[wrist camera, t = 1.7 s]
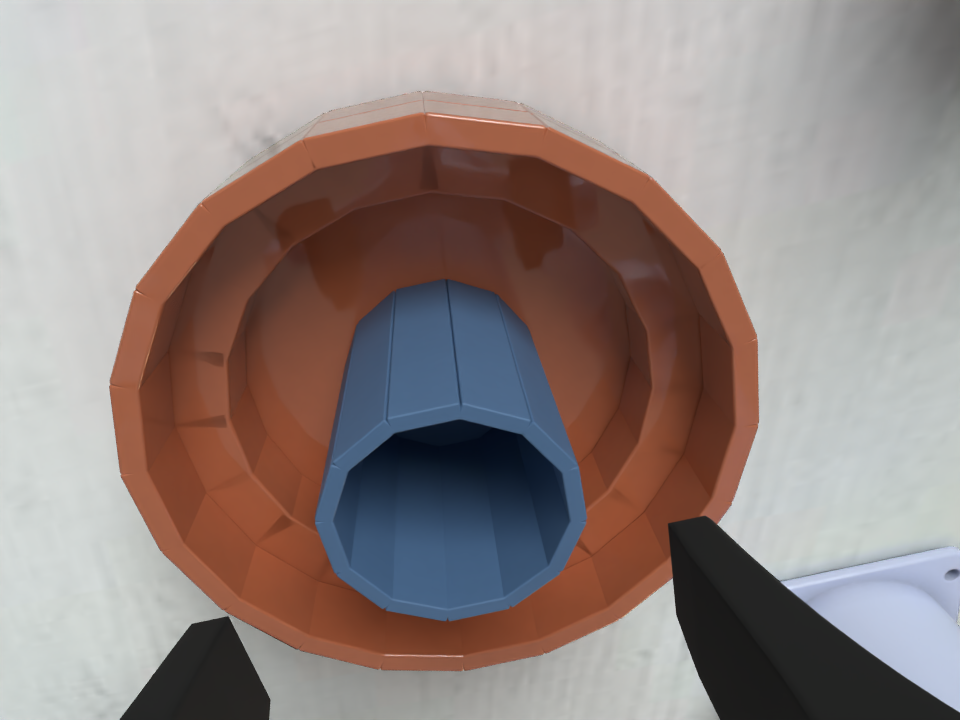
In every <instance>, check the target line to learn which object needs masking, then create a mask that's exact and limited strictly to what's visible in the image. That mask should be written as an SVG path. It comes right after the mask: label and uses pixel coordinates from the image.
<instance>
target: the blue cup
mask: <svg viewBox="0 0 960 720" xmlns="http://www.w3.org/2000/svg"><path fill="white" fill-rule="evenodd" d="M586 520H587V514H586V507H585V501H584V495H583V489H582V483H581V477H580V470H579V466H578V463H577V460H576V458H575V455H574V452H573V449H572V447H571V444H570V441H569V438H568V436H567V433H566V430H565V427H564V425H563V422H562V419H561V416H560V414H559V411H558V408H557V405H556V402H555V400H554V397H553V394H552V391H551V389H550V386H549V383H548V380H547V378H546V375H545V372H544V369H543V367H542V364H541V361H540V358H539V355H538V353H537V350H536V347H535V344H534V342H533V339H532V336H531V333H530V331H529V329H528V327H527V325H526V324H525V323H524V322H523V321H522V320H521V319H520V318H519V317H518V316H517V315H516V314H515V312H514V311H513V310H512V309H511V308H510V307H509V306H508V305H507V304H506V303H505V302H504V301H503V300H502V299H501V298H500V297H499V296H498V295H497V294H495V293H494V292H491V291H488V290H484V289H481V288H478V287H474V286H471V285H467V284H464V283H461V282H457V281H454V280H450V279H447V281H446V280H445V279H441V280H436V281H432V282H427V283H423V284H418V285H413V286H409V287H404V288H400V289H396V292H395V291H392V292H391V293H390V294H389V295H388V296H387V297H386V298H385V299H383V300H382V301H381V302H380V303H379V304H378V305H377V306H376V307H374V308H373V309H372V310H371V311H370V312H369V313H368V314H367V315H366V316H364V317H363V318H362V319H361V320H360V321H359V322H358V324H357V325H356V329H355V332H354V336H353V339H352V343H351V346H350V350H349V353H348V357H347V360H346V364H345V368H344V373H343V378H342V383H341V388H340V393H339V398H338V403H337V408H336V413H335V418H334V423H333V428H332V433H331V438H330V443H329V448H328V453H327V458H326V463H325V468H324V473H323V478H322V484H321V489H320V494H319V499H318V504H317V509H316V514H315V525H316V528H317V530H318V533H319V536H320V538H321V541H322V543H323V546H324V548H325V551H326V553H327V556H328V559H329V561H330V564H331V566H332V569H333V571H334V573H337V574H336V575H337V577H339V578H340V579H341V580H343V581H344V582H345V583H347V584H348V585H350V586H351V587H352V588H354V589H355V590H357V591H358V592H359V593H361V594H362V595H363V596H365V597H366V598H368V599H369V600H370V601H372V602H373V603H375V604H376V605H377V606H379V607H380V608H381V609H384V608H385V609H386V611H390V612H396V613H401V614H407V615H412V616H418V617H423V618H429V619H434V620H440V621H446V620H447V618H448V620H449V621H454V620H459V619H463V618H468V617H473V616H478V615H482V614H487V613H492V612H497V611H501V610H506V609H509V607H510V606H511V607H514V606H515V605H517V604H518V603H520V602H521V601H522V600H524V599H525V598H527V597H528V596H530V595H531V594H532V593H534V592H535V591H537V590H538V589H540V588H541V587H542V586H544V585H545V584H547V583H548V582H550V581H551V580H552V579H554V578H555V577H557V576H558V575H559V574H560V571H563V569H564V567H565V565H566V563H567V561H568V559H569V557H570V555H571V553H572V551H573V549H574V547H575V545H576V543H577V541H578V539H579V537H580V535H581V533H582V531H583V529H584V527H585V525H586Z"/></svg>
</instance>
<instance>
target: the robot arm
mask: <svg viewBox="0 0 960 720" xmlns="http://www.w3.org/2000/svg"><path fill="white" fill-rule="evenodd" d="M668 532H669V542H670V553H671V564H672V574H673V585H674V595H675V606H676V615H677V618H678V621H679V623H680V626H681V629H682V632H683V635H684V637H685V640H686V643H687V646H688V648H689V651H690V654H691V656H692V659H693V662H694V664H695V667H696V670H697V672H698V675H699V677H700V679H701V681H702V683H703V686H704V688H705V690H706V692H707V694H708V696H709V698H710V700H711V702H712V704H713V706H714V708H715V710H716V712H717V714H718V716H719V718H720V720H960V626H959V625H958V624H957V619H958V613H959V606H960V549H959V548H957V547H954V546H950V547H943V548H938V549H934V550H929V551H924V552H919V553H915V554H910V555H905V556H900V557H896V558H891V559H886V560H881V561H876V562H872V563H867V564H862V565H857V566H853V567H848V568H843V569H838V570H834V571H829V572H824V573H819V574H814V575H810V576H805V577H800V578H795V579H791V580H786V581H781V582H780V581H779V580H777V579H776V578H775V577H774V576H773V575H772V574H770V573H769V572H768V571H767V570H766V569H765V568H764V567H763V566H761V565H760V564H759V563H758V562H757V561H756V560H755V559H754V558H752V557H751V556H750V555H749V554H748V553H747V552H746V551H745V550H744V549H743V548H741V547H740V546H739V545H738V544H737V543H736V542H735V541H734V540H733V539H732V538H731V537H730V536H729V535H728V534H726V533H725V532H724V531H723V530H722V529H721V528H720V527H719V526H718V525H717V524H716V523H715V522H714V521H713V520H712V519H710V518H709V517H707V516H700V517H696V518H691V519H686V520H681V521H677V522H672V523H668ZM269 712H270V698H269V696H268V694H267V692H266V690H265V688H264V686H263V684H262V682H261V680H260V678H259V676H258V674H257V672H256V670H255V668H254V666H253V664H252V662H251V660H250V658H249V656H248V654H247V652H246V650H245V648H244V646H243V644H242V642H241V640H240V638H239V636H238V634H237V632H236V630H235V628H234V626H233V624H232V622H231V620H230V618H229V616H227V617H223V618H218V619H213V620H209V621H204V622H199V623H194V624H191V626H190V627H189V628H188V630H187V631H186V632H185V633H184V635H183V636H182V637H181V638H180V640H179V641H178V642H177V644H176V645H175V646H174V648H173V649H172V650H171V652H170V653H169V654H168V656H167V657H166V658H165V660H164V661H163V662H162V664H161V665H160V666H159V668H158V669H157V670H156V672H155V673H154V675H153V676H152V677H151V679H150V680H149V681H148V683H147V684H146V685H145V687H144V688H143V689H142V691H141V692H140V693H139V695H138V696H137V697H136V699H135V700H134V701H133V703H132V704H131V705H130V707H129V708H128V709H127V711H126V712H125V713H124V714H123V716H122V717H121V718H120V720H269Z"/></svg>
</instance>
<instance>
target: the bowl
mask: <svg viewBox="0 0 960 720" xmlns="http://www.w3.org/2000/svg"><path fill="white" fill-rule="evenodd" d="M441 279H445V280H446V281H447V279H450V280H454V281H457V282H461V283H464V284H467V285H471V286H474V287H478V288H481V289H484V290H488V291H491V292H494V293H495V294H497V295H498V296H499V297H500V298H501V299H502V300H503V301H504V302H505V303H506V304H507V305H508V306H509V307H510V308H511V309H512V310H513V311H514V312H515V314H516V315H517V316H518V317H519V318H520V319H521V320H522V321H523V322H524V323H525V324H526V325H527V327H528V329H529V331H530V333H531V336H532V339H533V342H534V344H535V347H536V350H537V353H538V355H539V358H540V361H541V364H542V367H543V369H544V372H545V375H546V378H547V380H548V383H549V386H550V389H551V391H552V394H553V397H554V400H555V402H556V405H557V408H558V411H559V414H560V416H561V419H562V422H563V425H564V427H565V430H566V433H567V436H568V438H569V441H570V444H571V447H572V449H573V452H574V455H575V458H576V460H577V463H578V466H579V470H580V477H581V483H582V489H583V495H584V501H585V507H586V514H587V520H586V525H585V527H584V529H583V531H582V533H581V535H580V537H579V539H578V541H577V543H576V545H575V547H574V549H573V551H572V553H571V555H570V557H569V559H568V561H567V563H566V565H565V567H564V569H563V571H560V574H559V575H558V576H557V577H555V578H554V579H552V580H551V581H550V582H548V583H547V584H545V585H544V586H542V587H541V588H540V589H538V590H537V591H535V592H534V593H532V594H531V595H530V596H528V597H527V598H525V599H524V600H522V601H521V602H520V603H518V604H517V605H515V606H514V607H511V606H510V607H509V609H506V610H501V611H497V612H492V613H487V614H482V615H478V616H473V617H468V618H463V619H459V620H454V621H449V620H448V618H447V620H446V621H440V620H434V619H429V618H423V617H418V616H412V615H407V614H401V613H396V612H390V611H386V609H385V608H384V609H381V608H380V607H379V606H377V605H376V604H375V603H373V602H372V601H370V600H369V599H368V598H366V597H365V596H363V595H362V594H361V593H359V592H358V591H357V590H355V589H354V588H352V587H351V586H350V585H348V584H347V583H345V582H344V581H343V580H341V579H340V578H339V577H337V575H336V574H337V573H334V571H333V569H332V566H331V564H330V561H329V559H328V556H327V553H326V551H325V548H324V546H323V543H322V541H321V538H320V536H319V533H318V530H317V528H316V525H315V514H316V509H317V504H318V499H319V494H320V489H321V484H322V478H323V473H324V468H325V463H326V458H327V453H328V448H329V443H330V438H331V433H332V428H333V423H334V418H335V413H336V408H337V403H338V398H339V393H340V388H341V383H342V378H343V373H344V368H345V364H346V360H347V357H348V353H349V350H350V346H351V343H352V339H353V336H354V332H355V329H356V325H357V324H358V322H359V321H360V320H361V319H362V318H363V317H364V316H366V315H367V314H368V313H369V312H370V311H371V310H372V309H373V308H374V307H376V306H377V305H378V304H379V303H380V302H381V301H382V300H383V299H385V298H386V297H387V296H388V295H389V294H390V293H391V292H392V291H395V292H396V289H400V288H404V287H409V286H413V285H418V284H423V283H427V282H432V281H436V280H441ZM109 389H110V397H111V405H112V412H113V420H114V428H115V436H116V444H117V452H118V460H119V468H120V473H121V478H122V480H123V482H124V484H125V485H126V487H127V489H128V491H129V493H130V495H131V497H132V499H133V500H134V502H135V504H136V506H137V508H138V510H139V512H140V514H141V515H142V517H143V519H144V521H145V523H146V525H147V527H148V529H149V530H150V532H151V534H152V536H153V538H154V540H155V542H156V544H157V545H158V547H159V549H160V551H162V553H163V554H164V555H165V556H166V557H167V558H168V559H169V560H170V561H171V562H172V563H173V564H174V565H175V566H176V567H178V568H179V569H180V570H181V571H182V572H183V573H184V574H185V575H186V576H187V577H188V578H189V579H190V580H191V581H192V582H193V583H194V584H195V585H196V586H197V587H199V588H200V589H201V590H202V591H203V592H204V593H205V594H206V595H207V596H208V597H209V598H210V599H211V600H212V601H213V602H214V603H215V604H216V605H217V606H218V607H220V608H221V609H222V610H225V612H227V613H228V614H230V615H232V616H234V617H236V618H238V619H240V620H242V621H244V622H246V623H247V624H249V625H251V626H253V627H255V628H257V629H259V630H261V631H263V632H265V633H266V634H268V635H270V636H272V637H274V638H276V639H278V640H280V641H282V642H284V643H285V644H287V645H289V646H291V647H293V648H295V649H299V650H300V651H303V652H308V653H312V654H316V655H320V656H324V657H328V658H332V659H336V660H340V661H344V662H349V663H353V664H357V665H361V666H365V667H369V668H373V669H377V670H378V669H380V668H381V670H404V671H463V669H464V671H468V670H472V669H477V668H482V667H487V666H492V665H496V664H501V663H506V662H511V661H515V660H520V659H525V658H530V657H535V656H539V655H543V654H544V653H549V652H551V651H553V650H555V649H558V648H560V647H562V646H564V645H566V644H568V643H571V642H573V641H575V640H577V639H579V638H581V637H584V636H586V635H588V634H590V633H592V632H595V631H597V630H599V629H601V628H603V627H605V626H608V625H610V624H612V623H614V622H616V621H618V620H619V619H621V618H623V617H624V616H625V615H627V614H628V613H629V612H630V611H632V610H633V609H634V608H635V607H637V606H638V605H639V604H641V603H642V602H643V601H644V600H646V599H647V598H648V597H649V596H651V595H652V594H653V593H654V592H656V591H657V590H658V589H659V588H661V587H662V586H663V585H664V584H666V583H667V582H668V581H670V580H671V579H672V578H673V574H672V564H671V553H670V542H669V532H668V523H672V522H677V521H681V520H686V519H691V518H696V517H700V516H707V517H709V518H710V519H712V520H713V521H714V522H715V523H716V524H718V523H719V521H720V520H721V518H722V517H723V516H724V514H725V513H726V512H727V510H728V509H729V508H730V506H731V505H732V503H731V502H732V501H733V499H734V497H735V494H736V491H737V488H738V485H739V482H740V479H741V476H742V473H743V470H744V467H745V464H746V461H747V458H748V455H749V452H750V449H751V446H752V444H753V441H754V438H755V435H756V432H757V429H758V423H759V398H758V341H757V334H756V332H755V329H754V327H753V325H752V322H751V320H750V317H749V315H748V312H747V310H746V307H745V305H744V303H743V300H742V298H741V295H740V293H739V290H738V288H737V285H736V283H735V280H734V278H733V276H732V273H731V271H730V268H729V266H728V263H727V261H726V258H725V256H724V254H723V253H722V252H721V249H720V248H719V247H718V246H717V245H716V244H715V243H714V242H713V240H712V239H711V238H710V237H709V236H708V235H707V234H706V233H705V232H704V231H703V230H702V229H701V228H700V227H699V226H698V225H697V224H696V223H695V222H694V221H693V220H692V218H691V217H690V216H689V215H688V214H687V213H686V212H685V211H684V210H683V209H682V208H681V207H680V206H679V205H678V204H677V203H676V202H675V201H674V200H673V199H672V197H671V196H670V195H669V194H668V193H667V192H666V191H665V190H664V189H663V188H662V187H661V186H660V185H659V184H658V183H657V182H656V181H655V180H654V179H653V178H652V177H651V176H649V175H648V174H647V173H645V172H644V171H642V170H641V169H639V168H638V167H636V166H635V165H634V164H632V163H631V162H629V161H628V160H626V159H625V158H623V157H622V156H620V155H619V154H617V153H616V152H614V151H613V150H611V149H610V148H609V147H607V146H606V145H604V144H603V143H601V142H600V141H598V140H596V139H594V138H592V137H590V136H588V135H586V134H584V133H582V132H580V131H578V130H575V129H573V128H571V127H569V126H567V125H565V124H563V123H561V122H559V121H557V120H555V119H553V118H551V117H549V116H547V115H545V114H543V113H541V112H539V111H537V110H535V109H533V108H531V107H528V106H526V105H524V104H522V103H519V104H518V103H517V102H515V101H507V100H498V99H490V98H481V97H473V96H464V95H456V94H448V93H439V92H431V91H425V92H423V93H422V92H421V91H417V92H413V93H408V94H404V95H399V96H395V97H390V98H386V99H381V100H377V101H372V102H368V103H363V104H358V105H354V106H349V107H345V108H340V109H336V110H331V111H329V112H327V113H323V114H322V115H320V116H319V117H317V118H315V119H314V120H312V121H311V122H309V123H307V124H306V125H304V126H303V127H301V128H299V129H298V130H296V131H295V132H293V133H291V134H290V135H288V136H287V137H285V138H283V139H282V140H280V141H279V142H277V143H275V144H274V145H272V146H271V147H269V148H267V149H266V150H264V151H263V152H261V153H259V154H258V155H256V156H255V157H253V158H251V159H250V160H248V161H247V162H246V163H245V164H244V165H243V166H241V167H240V168H239V169H238V170H237V171H236V172H235V173H233V174H232V175H231V176H230V177H229V178H228V179H226V180H225V181H224V182H223V183H222V184H221V185H219V186H218V187H217V188H216V189H215V190H214V191H213V192H211V193H210V194H209V195H208V196H207V197H206V198H205V199H203V201H201V202H200V203H199V204H198V205H197V207H196V208H195V209H194V211H193V212H192V213H191V215H190V216H189V217H188V218H187V220H186V221H185V222H184V224H183V225H182V226H181V228H180V229H179V230H178V232H177V233H176V234H175V236H174V237H173V238H172V240H171V241H170V242H169V243H168V245H167V246H166V247H165V249H164V250H163V251H162V253H161V254H160V255H159V257H158V258H157V259H156V261H155V262H154V263H153V264H152V266H151V267H150V268H149V270H148V271H147V272H146V274H145V275H144V276H143V278H142V279H141V280H140V282H139V283H138V284H137V286H136V290H135V291H134V292H133V296H132V299H131V303H130V307H129V310H128V314H127V318H126V322H125V325H124V329H123V333H122V336H121V340H120V344H119V348H118V351H117V355H116V359H115V362H114V366H113V370H112V374H111V377H110V386H109Z"/></svg>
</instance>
